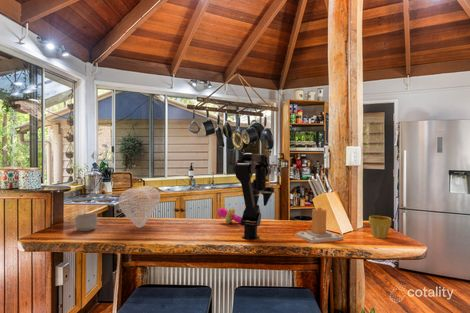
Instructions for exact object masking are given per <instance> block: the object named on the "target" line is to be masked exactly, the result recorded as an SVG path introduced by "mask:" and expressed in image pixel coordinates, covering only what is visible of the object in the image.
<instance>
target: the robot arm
mask: <svg viewBox="0 0 470 313" xmlns="http://www.w3.org/2000/svg"><path fill="white" fill-rule="evenodd" d="M246 162H250V163H246ZM270 167H271V163H270V160H269V156H268V154H266V153H253V152H245V153H243V154H242V155H241V157H240V158H239V159H237V161H236V162H235V164H234V167H233V172H234V174H235V177H236V178H235V179H237V180H238V181H239V182H240V184H241V190H242V191H241V192H242V195H243V200H244V201H243V202H244V206H245V208H244V210H243V212H242V216H241V217H242V219H241V223H240V226H243V228H244V229H243V236H241V238H242V239H245V240H250V241H253V240H256V239H258V238H260V236H259V235H258V227H259V226H261V222H262V220H261V219H262V214H261V209H260V206H259V204H258V202H259V199H260V193H261V195H262V198H263V200H262V201H263V206H264V207H267V204H268V202H269V201H270V199H271V196H272V195H273V193H275V187H273V186H267V182H268V179H267V177H269V176H270V175H271V174H272V170H271V168H270ZM254 172H255V174H254ZM253 175H254V177H255V178H253V180H252V177H253Z"/></svg>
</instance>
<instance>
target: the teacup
mask: <svg viewBox="0 0 470 313" xmlns="http://www.w3.org/2000/svg"><path fill="white" fill-rule="evenodd" d="M74 223H75V228H76V229H77V230H78V231H80V232H89V231H93V230H94V229H95V228H96V227H97V225H98V214H97V213H94V212H90V213H87V212H86V213H85V212H84V213H81V214H77V215H75V216H74Z"/></svg>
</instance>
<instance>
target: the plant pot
mask: <svg viewBox="0 0 470 313" xmlns="http://www.w3.org/2000/svg"><path fill="white" fill-rule="evenodd" d="M368 224H369V225H370V230H371V235H372V238H373V237H374V238H376V239H387V238H388V234H389V230H390V227H391V226H392V218H391V217H389V216H383V215H369V217H368Z"/></svg>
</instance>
